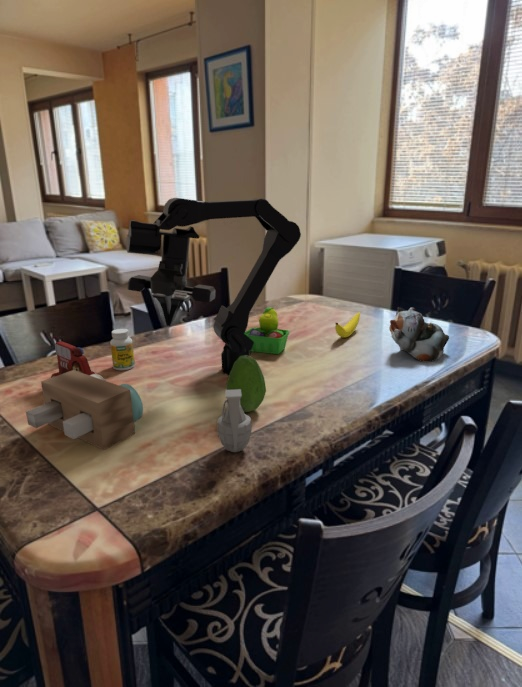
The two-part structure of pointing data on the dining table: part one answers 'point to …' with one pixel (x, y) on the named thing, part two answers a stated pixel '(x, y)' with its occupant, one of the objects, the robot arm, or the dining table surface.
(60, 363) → the toy fire truck
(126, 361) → the supplement bottle
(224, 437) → the hand grenade
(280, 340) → the fruit basket
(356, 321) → the banana
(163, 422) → the dining table surface
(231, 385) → the avocado
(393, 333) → the lucky cat figurine
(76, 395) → the walnut mount
